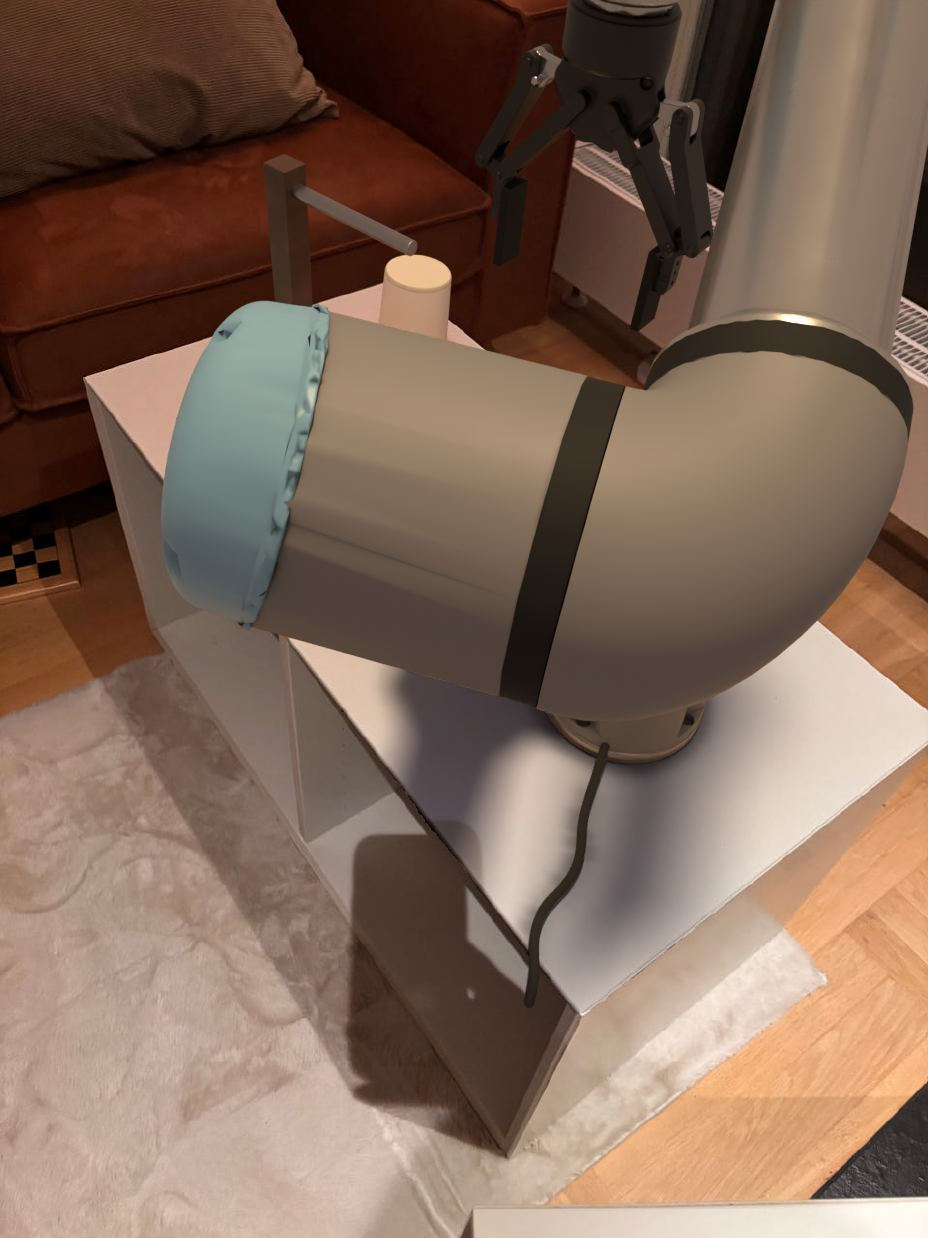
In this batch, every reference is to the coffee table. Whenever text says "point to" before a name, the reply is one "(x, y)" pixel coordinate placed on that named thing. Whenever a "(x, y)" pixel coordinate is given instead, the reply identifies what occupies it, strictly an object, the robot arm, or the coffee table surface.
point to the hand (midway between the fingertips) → (571, 290)
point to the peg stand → (307, 228)
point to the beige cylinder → (416, 295)
